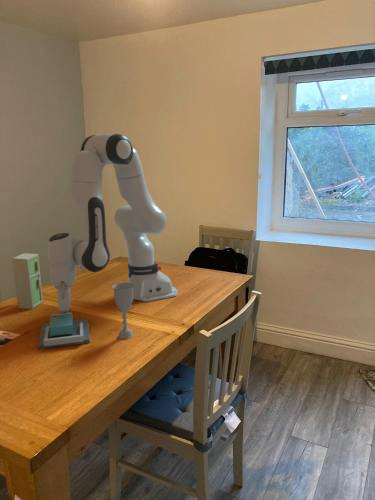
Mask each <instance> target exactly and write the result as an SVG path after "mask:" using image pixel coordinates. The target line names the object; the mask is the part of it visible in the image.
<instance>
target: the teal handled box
mask: <svg viewBox="0 0 375 500" xmlns="http://www.w3.org/2000/svg"><path fill="white" fill-rule="evenodd" d="M73 320H74V317H73V313H72V312H68V313H62V312H61V313H54V314H51V316H50V320H49V321H50V322H49V323H50V325H49V332H50V336H51V338H55V337H56V335H64V334H68V336H72V334H73Z"/></svg>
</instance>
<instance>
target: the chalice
mask: <svg viewBox="0 0 375 500" xmlns="http://www.w3.org/2000/svg"><path fill="white" fill-rule="evenodd" d="M111 287H112V289H113V295H114V297H113V298H114V299H113V300H114V303H115V305H116V306H117V309H118V310H119V312H120V313H122V324H123V325H122V326H123V327H122V328H121V329H120V330H119V333H118V335H117V337H118V339H121V340H126V339H127V340H128V339H131V338H132V337H134V334H133V333H132V330H131V329H130V328H129V327H128V326H127V324H128V321H127V319H128V316H127V313H128V312H129V311H130V309H131V307H132V304H133V301H134V299H133V287H134V284H133V283H128V282H118V283H116V284H115V283H114V284H113V285H112V286H111Z"/></svg>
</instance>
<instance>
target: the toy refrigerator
mask: <svg viewBox="0 0 375 500" xmlns="http://www.w3.org/2000/svg"><path fill="white" fill-rule="evenodd" d="M12 266H13V275H14V285H15V293H16V300H17V302H16V303H17V307H18V309H25V310H26V309H27V310H33V309H34V308H36V307H38V306H39V305H41V304H42V303H43V302H44V298H43V289H42V279H41V267H40V258H39V254H38V253H28V252H27V253H26V252H24V253H22V254H19V255H17V256H15V257H13V258H12Z"/></svg>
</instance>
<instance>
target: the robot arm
mask: <svg viewBox="0 0 375 500" xmlns="http://www.w3.org/2000/svg"><path fill="white" fill-rule="evenodd" d="M80 147H81V148H80V150H79V151H78V152H76V153H75V154H74V155H73V156H74V157H73V160H72V164H71V173H70V185H69V186H70V195H71V199H72V201H73V202H74V204H76V205H77V206H78V207H79V209H81V211H82V212H83V215H84V216H85V218H86V225H87V226H86V227H87V228H86V230H87V239H84V238H79V237H77V236H73V235H71V234H69V233H68V232H61V233H60V232H59V233H56V234H54V235H52V236H50V238H49V239H48V243H47V259H48V262H49V279H50V280H49V281H50V285H51V286H52V287H54V289H55V290H57V303H58V304H57V305H58V310H59V312H61V314H62V313H69V311H70V310H71V289H72V287H73V284H75V283H76V281H77V279H76V278H77V276H76V266H81V267H83V268H85V269H86V270H88V271H89V272H92V273H98V272H100V271H103V270H104V269H105V268H106V267H107V266H108V264H109V262H110V259H111V256H110V255H111V254H110V249H109V247H108V243H107V232H106V231H107V229H106V214H105V213H106V212H105V205H104V200H103V191H102V190H103V187H102V186H103V184H102V183H103V170H104V167H105V165H108V166H109V165H112V166H113V168H114V172H115V177H116V182H117V184H118V190H119V194H120V197H121V198H122V199H123V200H124V201H125V202H126V203H127V204H128V205H122V206H120V207H118V208H117V209H116V211H115V213H114V222H115V224H116V226H117V227H118V228H119V229H120V231H121V232H122V234H123V236H124V239H125V243H126V247H127V255H128V256H127V258H128V264H127V277H128V282H127V283H133V284H134V287H133V300H138V301H141V302H152V301H156V300H164V299H169V298H174V297H176V296H178V290H177V288H176V287H175V286H173V284H172V280H171V278H169V276H167V275H166V274H165V273H163V272H161V270H162V266H161V265H159V263H157V262H155V246H154V244H153V243H152V241H150V239H149V238H148V236H147V234H148V235H156V234H160V233H162V232H164V230H165V229H166V227H167V223H168V219H167V214H166V213H165V211H163V210H161V208H159V207H158V205H157V204H156V203H155V201H154V199H153V198H152V196H151V194H150V192H149V189H148V186H147V181H146V178H145V177H146V176H145V172H144V170H143V169H144V167H143V165H142V161H141V158H140V157H139V153H138V151H137V150H136V148H135V147H133V145H132V142H131V141H130V139H129V138H128V137H127V136H125V135H123V134H120V133H102V134H93V135H92V134H91V135H90V136H87V137H86V138H85V139H84V140H83V142H82V144H81V146H80Z"/></svg>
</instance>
